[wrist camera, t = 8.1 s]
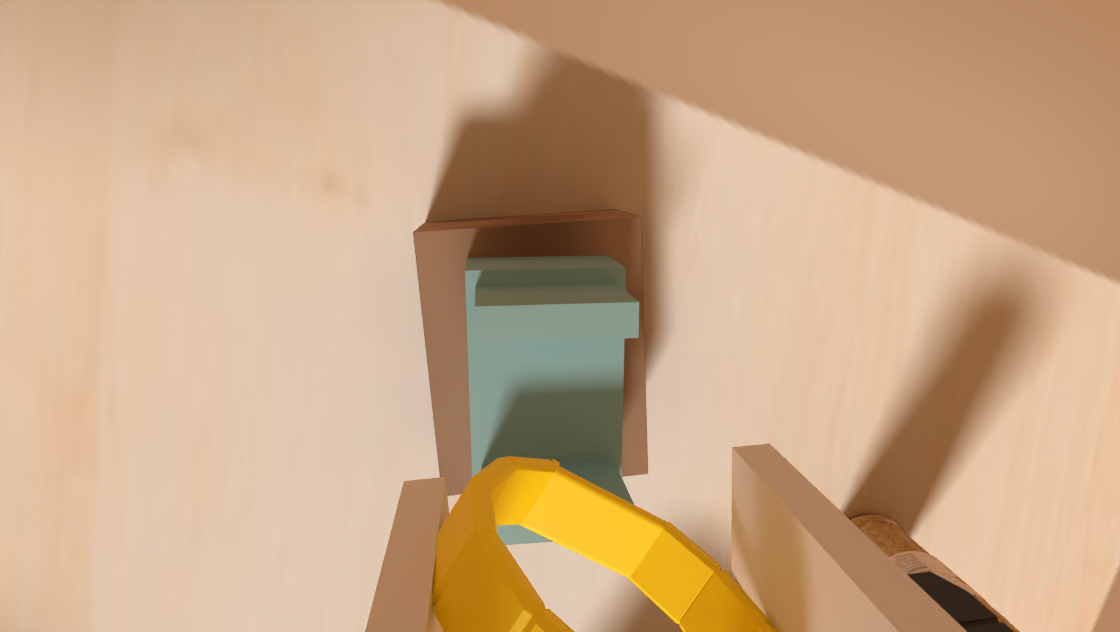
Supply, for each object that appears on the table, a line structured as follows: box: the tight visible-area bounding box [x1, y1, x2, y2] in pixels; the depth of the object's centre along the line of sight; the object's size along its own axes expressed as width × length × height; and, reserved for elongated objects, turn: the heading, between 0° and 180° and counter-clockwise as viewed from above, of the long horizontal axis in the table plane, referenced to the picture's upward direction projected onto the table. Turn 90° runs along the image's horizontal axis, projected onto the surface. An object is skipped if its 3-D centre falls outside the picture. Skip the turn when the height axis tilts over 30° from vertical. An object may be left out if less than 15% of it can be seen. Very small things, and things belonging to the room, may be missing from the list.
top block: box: [465, 255, 639, 545], centre depth 21 cm, size 5×8×6 cm, turn 0°
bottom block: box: [413, 209, 648, 496], centre depth 26 cm, size 8×10×5 cm
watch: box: [432, 456, 778, 632], centre depth 10 cm, size 6×3×6 cm, turn 58°
